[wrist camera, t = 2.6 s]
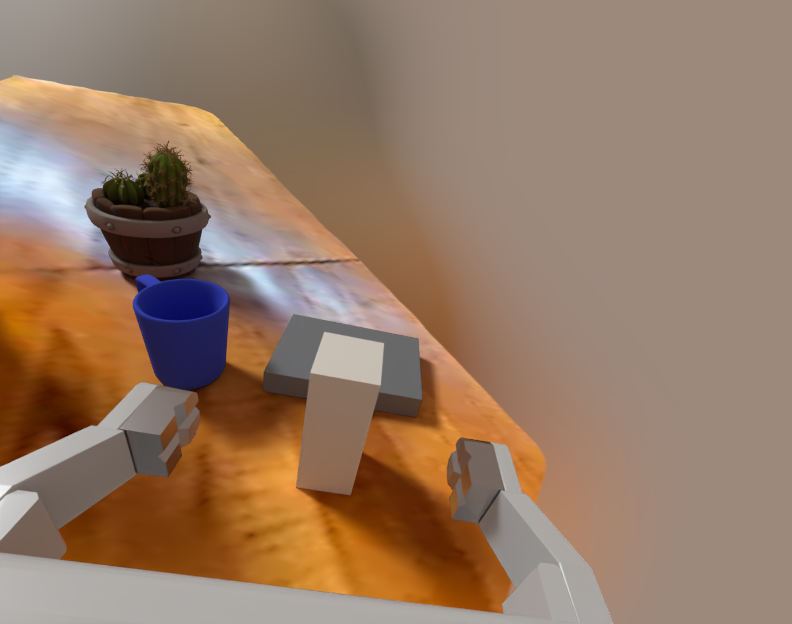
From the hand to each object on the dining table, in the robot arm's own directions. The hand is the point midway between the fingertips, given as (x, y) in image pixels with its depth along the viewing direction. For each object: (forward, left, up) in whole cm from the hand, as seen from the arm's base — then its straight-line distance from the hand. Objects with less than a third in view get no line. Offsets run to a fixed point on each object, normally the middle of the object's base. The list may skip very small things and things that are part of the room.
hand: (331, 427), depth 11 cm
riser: (0, +27, -22) cm, 35 cm away
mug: (-19, +23, -22) cm, 37 cm away
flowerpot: (-33, +43, -22) cm, 59 cm away
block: (0, +13, -22) cm, 26 cm away
